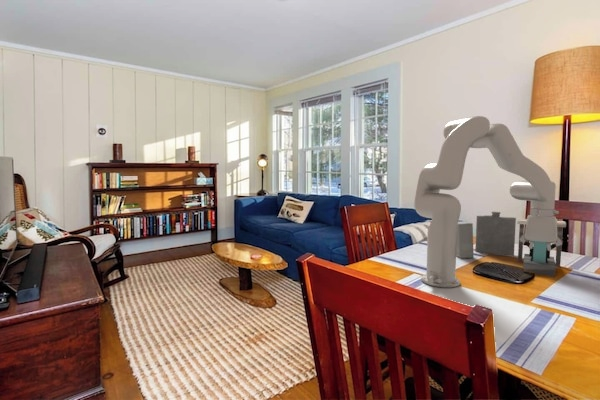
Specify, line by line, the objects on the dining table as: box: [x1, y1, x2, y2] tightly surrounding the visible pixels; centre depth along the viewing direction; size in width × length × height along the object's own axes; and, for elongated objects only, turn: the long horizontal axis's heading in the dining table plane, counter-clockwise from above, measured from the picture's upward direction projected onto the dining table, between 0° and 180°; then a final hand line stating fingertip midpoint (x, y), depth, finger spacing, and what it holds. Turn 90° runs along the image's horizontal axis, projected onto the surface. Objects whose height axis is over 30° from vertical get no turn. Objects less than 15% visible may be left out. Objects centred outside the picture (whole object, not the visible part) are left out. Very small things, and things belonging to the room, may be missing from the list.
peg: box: [533, 241, 547, 263], centre depth 132 cm, size 4×4×10 cm
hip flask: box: [474, 211, 517, 257], centre depth 159 cm, size 16×4×20 cm, turn 60°
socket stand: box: [516, 218, 567, 278], centre depth 135 cm, size 18×16×18 cm
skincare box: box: [456, 220, 475, 259], centre depth 155 cm, size 8×7×16 cm
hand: (539, 258), depth 133 cm, fingers closed on peg, 3 cm apart
